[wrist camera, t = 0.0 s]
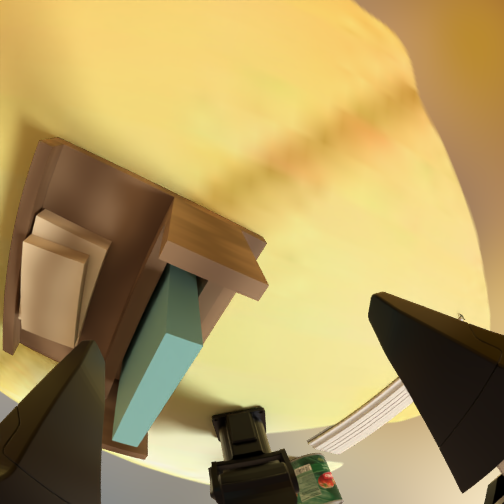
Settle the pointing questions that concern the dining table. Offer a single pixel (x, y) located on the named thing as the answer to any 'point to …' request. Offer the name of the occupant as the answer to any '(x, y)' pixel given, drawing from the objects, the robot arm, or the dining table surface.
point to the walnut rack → (127, 256)
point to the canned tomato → (315, 480)
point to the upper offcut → (52, 289)
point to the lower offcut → (76, 239)
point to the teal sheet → (158, 354)
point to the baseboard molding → (364, 419)
